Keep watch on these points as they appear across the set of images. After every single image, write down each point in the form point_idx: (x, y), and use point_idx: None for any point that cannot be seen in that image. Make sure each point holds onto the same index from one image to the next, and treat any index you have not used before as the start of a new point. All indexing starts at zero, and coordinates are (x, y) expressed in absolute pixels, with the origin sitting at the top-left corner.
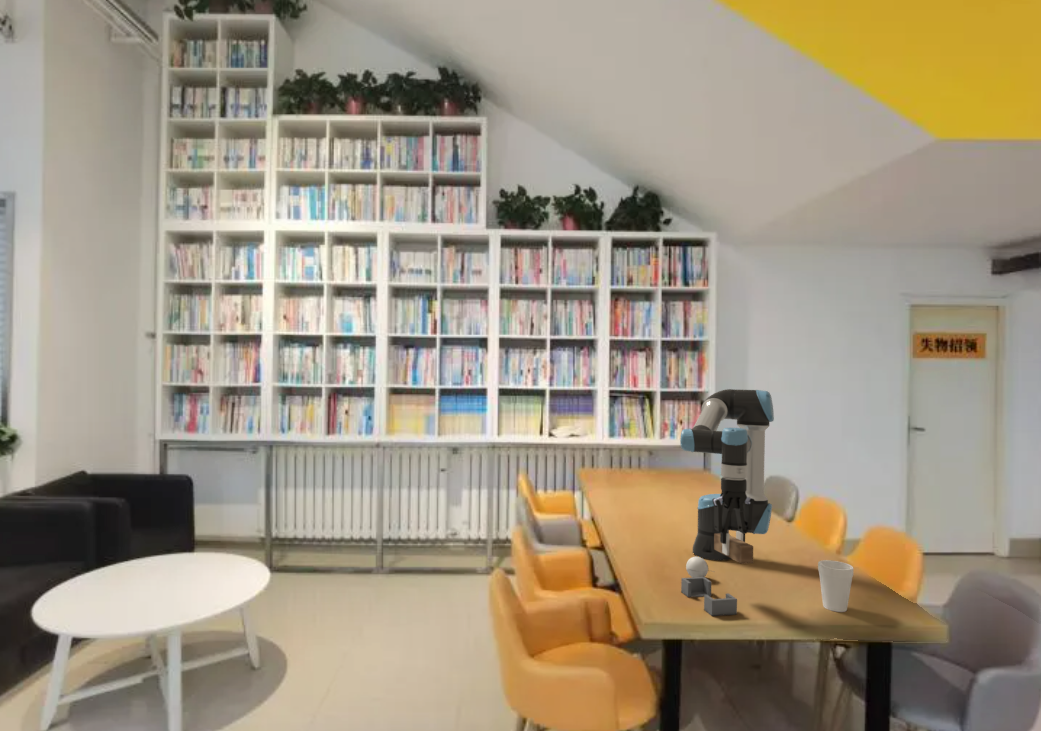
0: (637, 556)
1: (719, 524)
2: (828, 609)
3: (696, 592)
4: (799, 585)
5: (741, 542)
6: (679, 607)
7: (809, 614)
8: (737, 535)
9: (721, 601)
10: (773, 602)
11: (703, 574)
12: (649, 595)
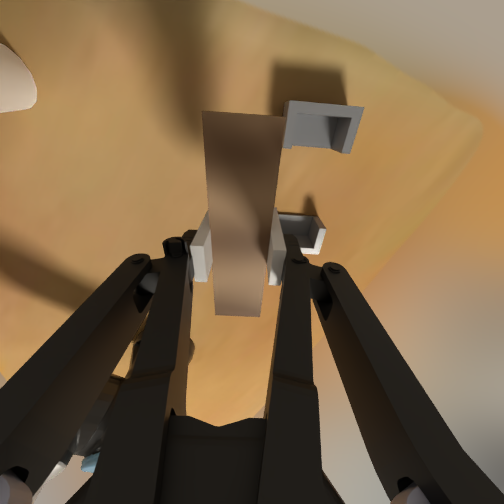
0: None
1: (354, 292)
2: (27, 68)
3: (290, 229)
4: (61, 221)
5: (228, 197)
6: (373, 175)
7: (94, 49)
8: (209, 261)
9: (335, 104)
10: (157, 152)
11: None
12: (377, 238)
